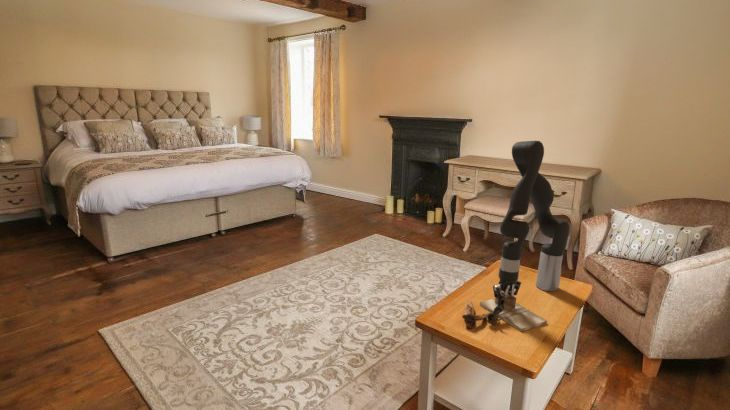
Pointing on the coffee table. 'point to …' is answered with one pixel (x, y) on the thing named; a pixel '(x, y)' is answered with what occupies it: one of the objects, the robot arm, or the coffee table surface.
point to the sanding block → (508, 302)
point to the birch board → (516, 316)
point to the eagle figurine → (495, 314)
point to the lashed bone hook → (471, 315)
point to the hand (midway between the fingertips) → (504, 305)
